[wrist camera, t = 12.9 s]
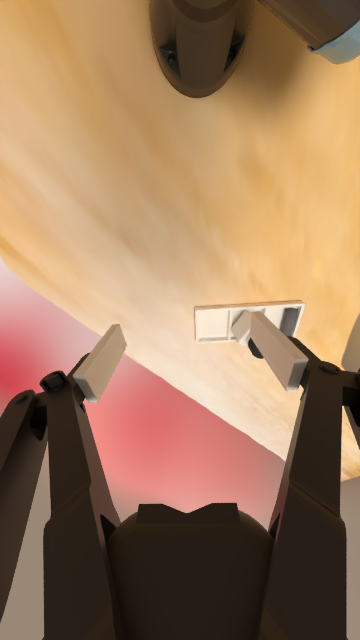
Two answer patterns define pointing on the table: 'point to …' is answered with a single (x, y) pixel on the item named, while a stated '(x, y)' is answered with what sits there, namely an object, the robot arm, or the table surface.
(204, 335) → the organiser
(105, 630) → the robot arm
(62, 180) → the table surface
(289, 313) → the grey cylinder
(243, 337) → the medicine bottle
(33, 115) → the table surface
